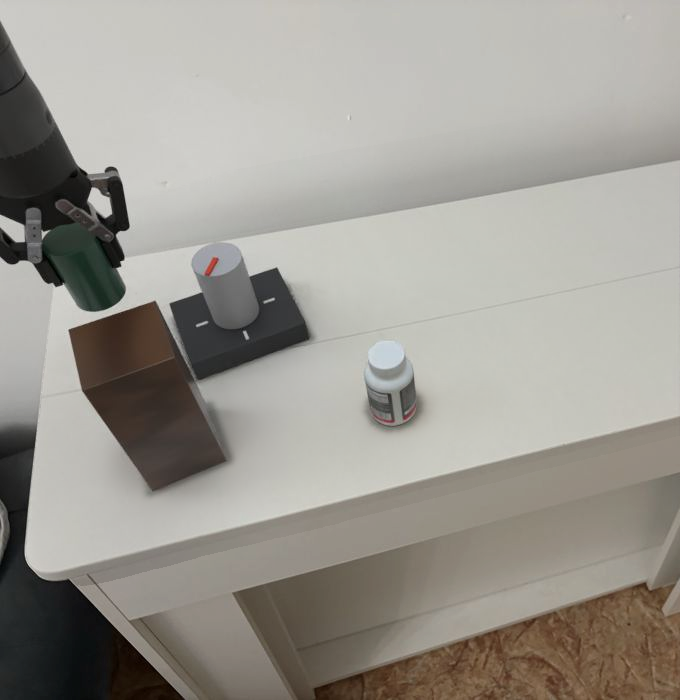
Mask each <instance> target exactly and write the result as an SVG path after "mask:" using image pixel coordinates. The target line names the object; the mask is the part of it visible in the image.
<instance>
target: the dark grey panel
mask: <svg viewBox="0 0 680 700" xmlns="http://www.w3.org/2000/svg"><path fill="white" fill-rule="evenodd" d="M249 278H250V281H251V284H252V287H253V290H254V293H255V296H256V299H257V302H258V305H259V313H258V316H257V317H256V319H255V320H254V321H253V322H252V323H250V324H249V325H247V326H245V327H243V328H239V329H224V328H222V327H220V326H218V325H217V324H216V323H215V322H214V320H213V317H212V315H211V312H210V310H209V308H208V305H207V303H206V300H205V298H204V295H203V293H202V292H199V293H195V294H193V295H190V296H187V297H184V298H181V299H178V300H175V301H172V302H169V303H168V305H169V308H170V310H171V313H172V316H173V319H174V322H175V325H176V327H177V330H178V333H179V336H180V338H181V342H182V345H183V347H184V350H185V353H186V355H187V358H188V361H189V364H190V366H191V369H192V371H193V372H194V375H195V377H196V379H197V380H198V381H199V380H201V379H204V378H207V377H210V376H213V375H216V374H218V373H221V372H223V371H225V370H229V369H231V368H234V367H237V366H239V365H242V364H245V363H248V362H250V361H253V360H256V359H258V358H261V357H263V356H266V355H270V354H271V353H275V352H277V351H280V350H283V349H285V348H288V347H290V346H293V345H296V344H298V343H302V342H304V341H306V340H309V339H310V334H309V331H308V327H307V323H306V321H305V319H304V317H303V315H302V313H301V311H300V309H299V306H298V305H297V303H296V301H295V299H294V297H293V295H292V293H291V292H290V289H289V288H288V286H287V284H286V282H285V280H284V277H283V276H282V274H281V271H280V270H279V268H278V267H277V266H276V267H273V268H271V269H267V270H265V271H262V272H258V273H255V274H253V275H249Z"/></svg>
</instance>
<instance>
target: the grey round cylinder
mask: <svg viewBox="0 0 680 700" xmlns="http://www.w3.org/2000/svg"><path fill="white" fill-rule="evenodd" d="M190 262H191V265H190V266H191V268H192V271H193V274H194V277H195V278H196V281H197V283H198V286H199V288H200V290H201V293H203V295H204V298H205V300H206V303H207V305H208V308H209V310H210V312H211V315H212V317H213V320H214V322H215V323H216V324H217V325H218V326H220V327H222V328H224V329H239V328H243V327H245V326H247V325H249V324H250V323H252V322H253V321H254V320H255V319H256V317H257V316H258V313H259V305H258V302H257V299H256V296H255V293H254V290H253V287H252V284H251V281H250V278H249V276H250V275H249V271H248V269H247V265H246V263H245V259H244V255H243V253H242V251H241V249H240V248H239V247H238V246H237V245H235V244H233V243H229V242H221V241H220V242H214V243H209V244H207V245H205V246H202V247H201V248H200V249H198V250H197V251H196V252H195V253H194V254H193V256H192V258H191V261H190Z"/></svg>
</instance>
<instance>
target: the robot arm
mask: <svg viewBox="0 0 680 700" xmlns="http://www.w3.org/2000/svg"><path fill="white" fill-rule="evenodd" d="M93 189H97V190H98V191H99V192H100V195H102V196H104V197H106V198H109V203H110V210H111V214H109V215H108V216H106V217H105V215H103V214H102V213H101V212H100V211H98V210H97V209H96V207H95V206H94V205H93V204H92V203H91V202H90V201H89V198H90V194H91V192H92V190H93ZM0 216H2V217H4V218H6V219H9V220H11V221H14V222H16V223H18V224H20V225H23V235H24V236H23V237H24V241H15V240H14V239H13V238H12V237H11V235H9V234H8V233H7V232H6V231H5V229H3V228H2V227H0V259H2V261H4V262H5V263H6V264H7V265H10V266H11V265H13V266H14V265H17V264H18V263H19V262H29V263H31V264H32V265H33V266H34V268H35V270H36V271H37V273H38V275H39V276H40V277H41V279H42V280H43V282H44V283H46V284H47V285H51V284H53V286H54V287H55V288H58V287H59V288H60V287H63V286H64V284H63V282H62V280H61V279H60V277H59V275H58V274H57V272H56V271H55V269H54V267H53V266H52V264H51V262H50V261H49V259H48V258H47V256H46V254H45V253H44V251H43V249H42V239H43V233H45V232H49V231H50V230H52V229H54V228H56V227H57V226H60V225H69V224H73V223H76V222H77V223H78V224H79V225H80V226H82V227H83V228H84V229H86V230H87V231H91V232H92V233H94V234H95V235H96V236H98V237H99V238H100V240H101V243H102V245H103V247H104V249H105V251H106V253H107V255H108V257H109V259H110V261H111V263H112V264H113V266H114V268H115V269H116V268H117V269H119V268H122V263H121V262H124V261H125V259H126V255H125V253H124V250H123V247H122V245H121V243H120V241H119V238H118V237H117V235H118V233H120V232H126V231H128V230H130V227H131V226H130V218H129V213H128V207H127V202H126V195H125V188H124V184H123V181H122V179H121V176H120V172H119V170H118V169H117V167H115V166H107V167H106V168H105V169H104V172H98V173H88V172H87V171H86V170H84V169H83V168H81V167H80V166H79V165H78V163H77V162H76V160H75V158H74V156H73V154H72V152H71V150H70V148H69V146H68V144H67V141H66V140H65V138H64V136H63V134H62V132H61V130H60V128H59V126H58V124H57V123H56V120H55V119H54V115H53V114H52V112H51V111H50V108H49V106H48V104H47V102H46V101H45V97H44V96H43V94H42V93H41V91H40V89H39V88H38V86H37V85H36V83H35V82H34V81H33V79H32V77H31V75H29V73H28V71H27V70H26V68H25V66H24V64H23V62H22V59H21V57H20V56H19V54H18V52H17V50H16V48H15V46H14V44H13V42H12V40H11V37H9V35H8V32H7V31H6V29H5V27H4V25H3V22H2V21H1V20H0Z"/></svg>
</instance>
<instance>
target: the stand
mask: <svg viewBox="0 0 680 700" xmlns="http://www.w3.org/2000/svg"><path fill="white" fill-rule="evenodd" d="M67 331H68V336H69V339H70V344H71V348H72V353H73V357H74V358H73V359H74V362H75V366H76V371H77V375H78V380H79V385H80V389H81V392H82V393H83V395H84V396H85V397H86V399H87V400H88V401H89V404H90V405H91V406H92V407H93V409H94V410H95V412H96V413H97V415H98V416H99V417H100V419H101V420H102V421H103V423H104V425H105V426H106V428H107V429H108V430H109V431H110V433H111V435H112V436H113V437H114V438H115V440H116V441H117V443H118V444H119V446H120V448H121V449H122V450H123V451H124V453H125V455H126V456H127V457H128V458H129V460H130V461H131V463H132V464H133V466H134V467H135V468H136V470H137V472H138V473H139V474H140V476H141V477H142V478H143V480H144V482H145V483H146V485H147V486H148V487H149V488H150V490H151V491H152V492H154V491H157V490H159V489H161V488H165V487H166V486H168V485H171V484H173V483H176V482H178V481H181V480H183V479H186V478H188V477H190V476H193V475H196V474H198V473H200V472H203V471H205V470H208V469H210V468H212V467H215V466H217V465H220V464H223V463H224V462H227V457H226V455H225V451H224V448H223V446H222V443H221V441H220V437H219V435H218V431H217V429H216V426H215V423H214V421H213V417H212V415H211V412H210V410H209V409H210V408H209V407H208V405H207V403H206V401H205V399H204V397H203V395H202V393H201V391H200V389H199V387H198V385H197V383H196V380H195V378H194V376H193V375H192V372H191V370H190V368H189V366H188V364H187V362H186V359H185V357H184V355H183V354H182V352H181V349H180V348H179V345H178V343H177V342H176V340H175V337H174V335H173V333H172V331H171V329H170V327H169V325H168V323H167V321H166V319H165V317H164V315H163V312H162V311H161V308H160V306H159V304H158V302H157V301H156V300H153V301H150V302H147V303H143V304H141V305H138V306H135V307H132V308H129V309H126V310H122V311H120V312H116V313H113V314H111V315H108V316H105V317H101V318H99V319H96V320H92V321H90V322H87V323H84V324H81V325H78V326H75V327H72V328H69V329H68V330H67Z"/></svg>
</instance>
